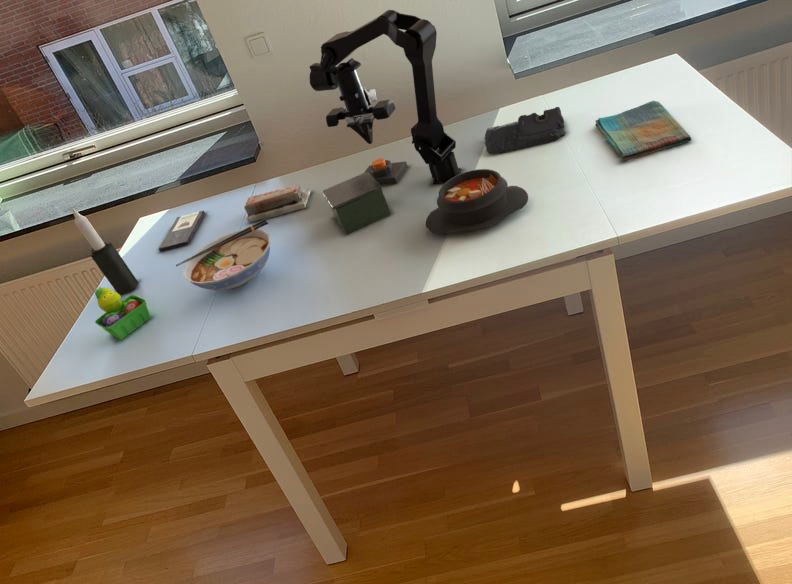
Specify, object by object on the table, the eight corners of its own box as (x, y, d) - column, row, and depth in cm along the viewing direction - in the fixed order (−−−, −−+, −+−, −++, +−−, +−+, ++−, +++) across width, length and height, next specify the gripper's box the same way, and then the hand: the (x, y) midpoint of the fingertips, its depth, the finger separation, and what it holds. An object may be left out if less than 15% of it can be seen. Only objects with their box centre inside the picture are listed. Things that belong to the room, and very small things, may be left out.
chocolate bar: (158, 248, 201) (177, 217, 215) (160, 251, 202) (178, 220, 216) (186, 241, 200) (203, 210, 213) (188, 244, 200) (205, 213, 214)
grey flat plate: (333, 209, 173) (332, 207, 173) (322, 193, 182) (321, 191, 182) (381, 188, 175) (380, 186, 175) (368, 174, 184) (367, 171, 184)
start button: (388, 163, 197) (386, 157, 195) (383, 169, 194) (381, 164, 193) (376, 164, 198) (374, 159, 197) (372, 171, 196) (369, 165, 195)
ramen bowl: (200, 322, 166) (182, 295, 161) (188, 281, 183) (172, 255, 178) (296, 275, 170) (282, 247, 165) (276, 240, 187) (262, 213, 182)
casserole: (521, 183, 173) (514, 152, 168) (537, 219, 158) (529, 186, 153) (424, 213, 175) (414, 183, 170) (431, 251, 161) (420, 219, 155)
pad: (408, 167, 199) (404, 155, 196) (396, 183, 193) (392, 171, 190) (371, 171, 203) (367, 160, 201) (359, 187, 197) (354, 176, 195)
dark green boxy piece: (346, 234, 178) (335, 209, 174) (335, 217, 187) (324, 193, 183) (391, 214, 180) (381, 189, 175) (377, 198, 189) (368, 174, 184)
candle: (122, 285, 192) (66, 206, 177) (139, 280, 192) (84, 200, 176) (117, 296, 188) (59, 216, 173) (134, 290, 188) (78, 210, 172)
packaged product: (240, 209, 197) (247, 192, 204) (247, 224, 200) (255, 207, 207) (299, 193, 193) (305, 177, 201) (306, 208, 196) (311, 192, 204)
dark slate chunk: (486, 133, 201) (482, 118, 198) (562, 115, 196) (560, 98, 193) (485, 157, 189) (481, 141, 186) (567, 138, 184) (564, 121, 181)
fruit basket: (119, 345, 168) (91, 308, 161) (103, 335, 174) (75, 300, 167) (157, 316, 174) (132, 279, 167) (141, 308, 179) (116, 272, 172)
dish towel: (659, 107, 183) (658, 97, 182) (693, 141, 165) (692, 131, 164) (595, 127, 185) (593, 118, 183) (621, 163, 167) (620, 153, 165)
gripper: (393, 69, 183) (411, 125, 193) (332, 79, 191) (352, 133, 200) (377, 87, 176) (397, 144, 185) (314, 97, 183) (337, 152, 193)
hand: (370, 143), depth 191 cm, fingers closed
